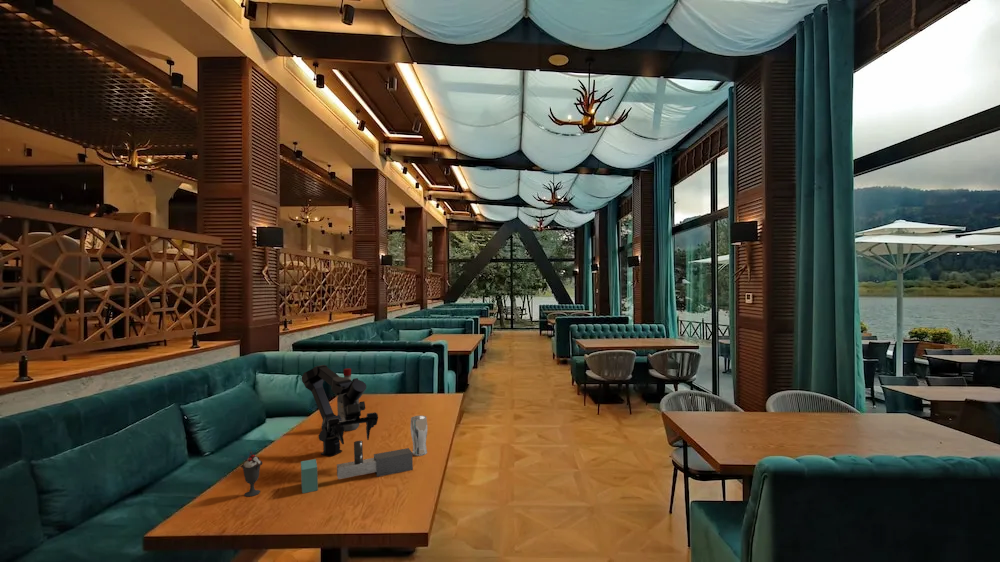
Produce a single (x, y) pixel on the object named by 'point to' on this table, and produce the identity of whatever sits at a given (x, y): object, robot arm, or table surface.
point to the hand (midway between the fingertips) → (355, 441)
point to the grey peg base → (356, 464)
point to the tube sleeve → (393, 462)
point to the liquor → (340, 405)
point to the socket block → (309, 476)
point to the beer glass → (419, 435)
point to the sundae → (251, 473)
